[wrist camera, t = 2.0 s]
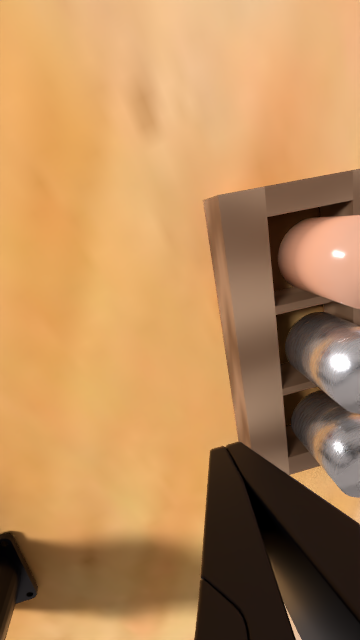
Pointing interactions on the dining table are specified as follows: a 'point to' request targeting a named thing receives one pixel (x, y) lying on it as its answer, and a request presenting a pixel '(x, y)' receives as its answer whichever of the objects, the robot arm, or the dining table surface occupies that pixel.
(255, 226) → the brown wooden tray
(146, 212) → the dining table surface
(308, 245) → the peach egg-shaped piece
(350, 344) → the plug metal mid
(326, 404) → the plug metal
